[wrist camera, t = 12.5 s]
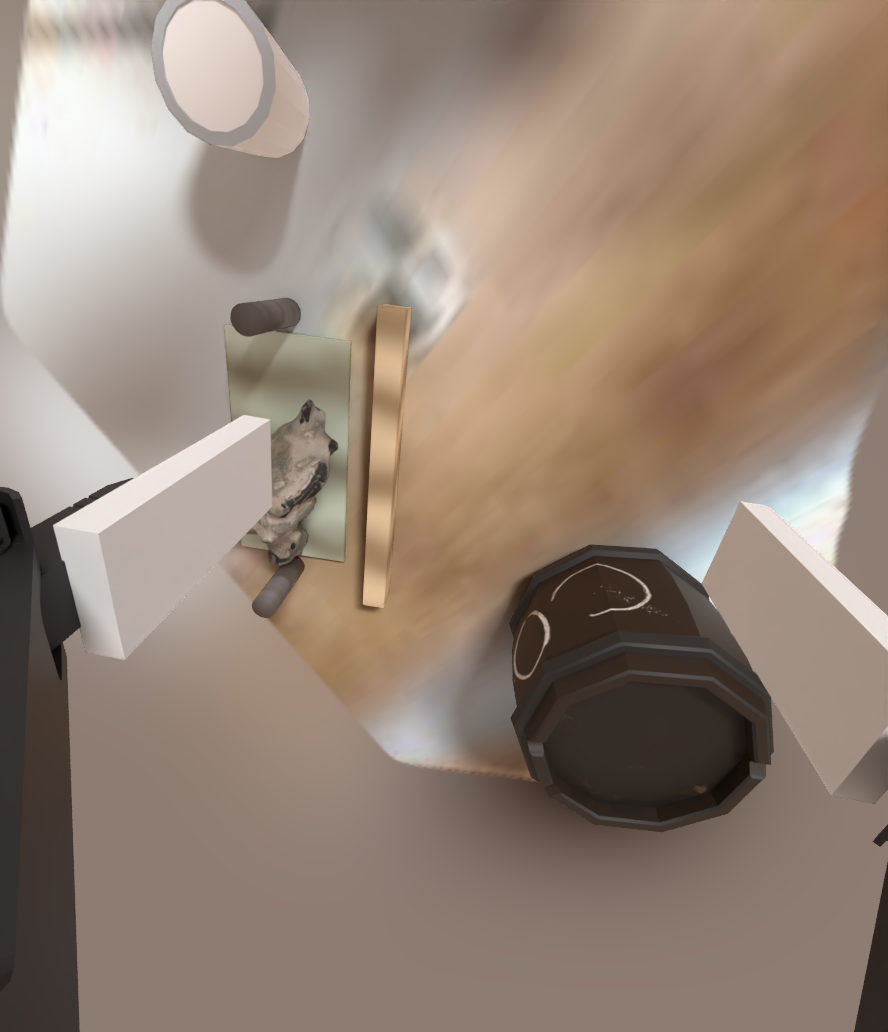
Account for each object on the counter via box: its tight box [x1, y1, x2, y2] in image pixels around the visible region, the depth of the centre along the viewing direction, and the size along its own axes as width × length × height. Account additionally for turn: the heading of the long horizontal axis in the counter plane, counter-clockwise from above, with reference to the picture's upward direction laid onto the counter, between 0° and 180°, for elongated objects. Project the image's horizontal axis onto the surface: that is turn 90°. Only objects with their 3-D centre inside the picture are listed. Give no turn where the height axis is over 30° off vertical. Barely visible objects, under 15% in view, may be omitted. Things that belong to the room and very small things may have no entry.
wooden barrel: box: [510, 545, 774, 832], centre depth 40 cm, size 18×18×16 cm
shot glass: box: [151, 0, 310, 158], centre depth 29 cm, size 7×7×7 cm
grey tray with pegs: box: [224, 298, 412, 618], centre depth 40 cm, size 26×14×7 cm, turn 173°
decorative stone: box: [246, 399, 339, 566], centre depth 40 cm, size 16×9×10 cm, turn 161°
